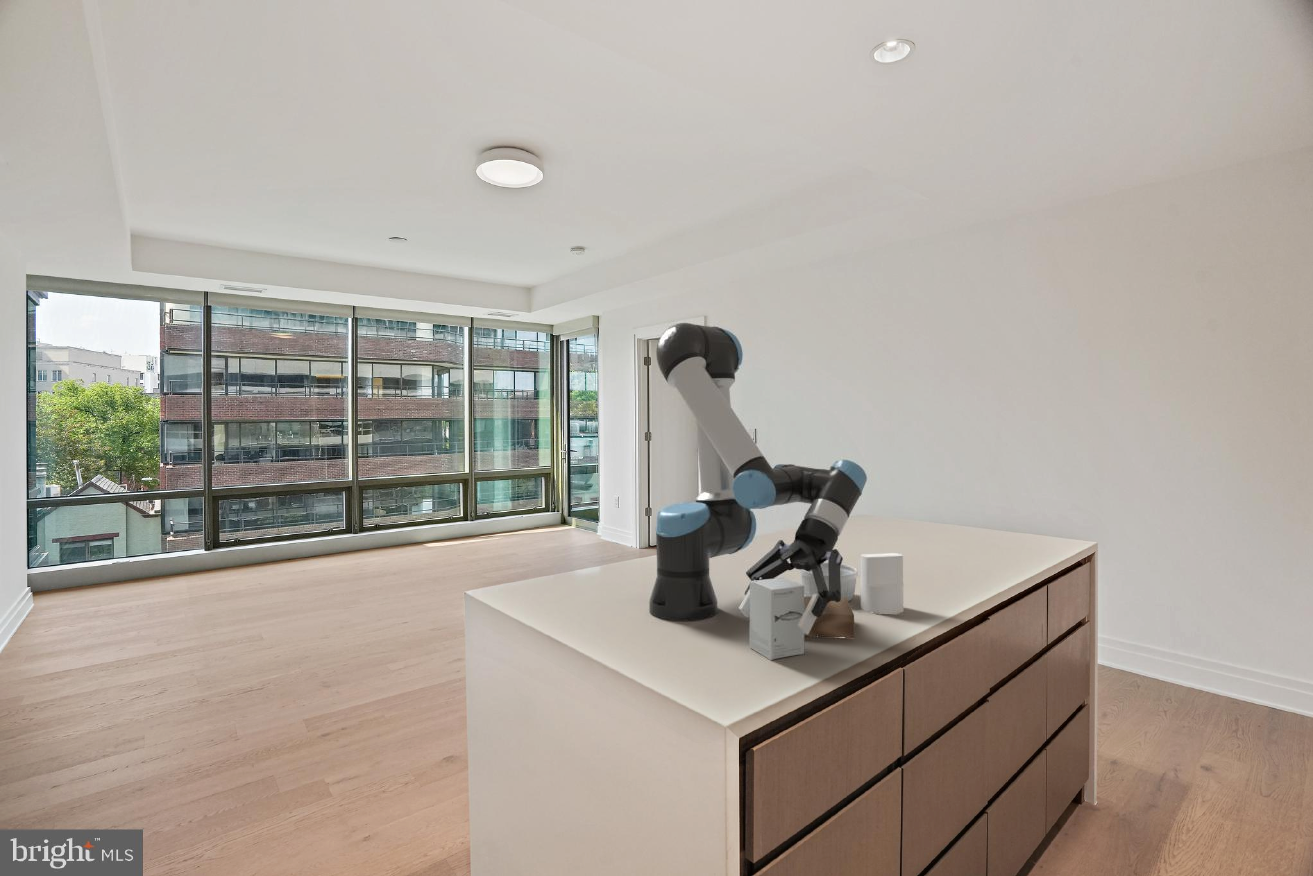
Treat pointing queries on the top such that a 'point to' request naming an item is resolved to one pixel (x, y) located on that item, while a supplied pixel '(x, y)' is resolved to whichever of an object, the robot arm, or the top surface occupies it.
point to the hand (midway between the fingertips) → (771, 621)
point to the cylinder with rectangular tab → (882, 583)
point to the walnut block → (833, 620)
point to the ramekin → (846, 578)
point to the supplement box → (776, 617)
